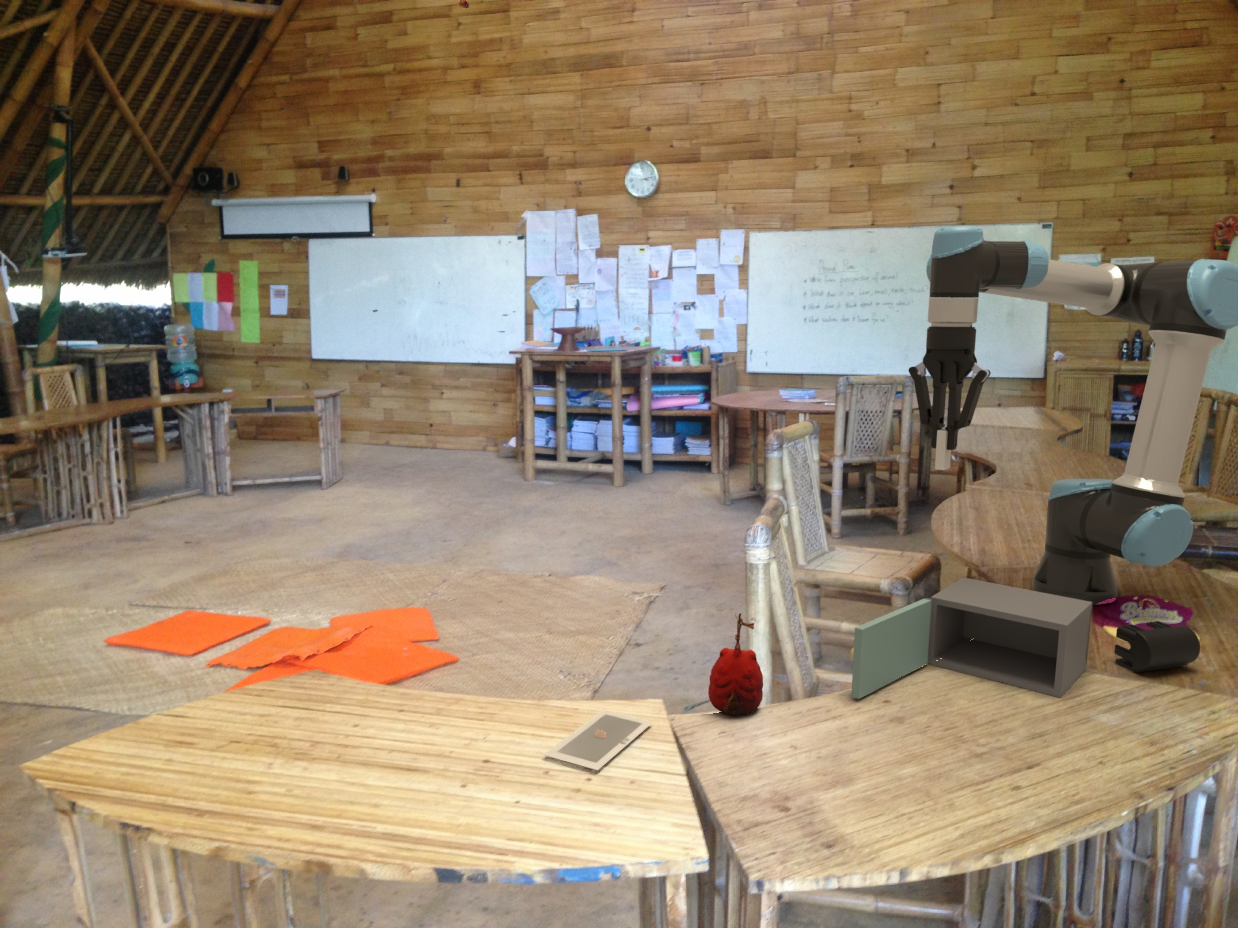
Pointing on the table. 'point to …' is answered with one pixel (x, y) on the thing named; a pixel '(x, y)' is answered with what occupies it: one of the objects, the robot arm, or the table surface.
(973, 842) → the table surface
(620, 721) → the touchpad
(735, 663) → the red clay folk toy
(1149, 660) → the end cap
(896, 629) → the pale green rectangular block
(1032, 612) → the cabinet
